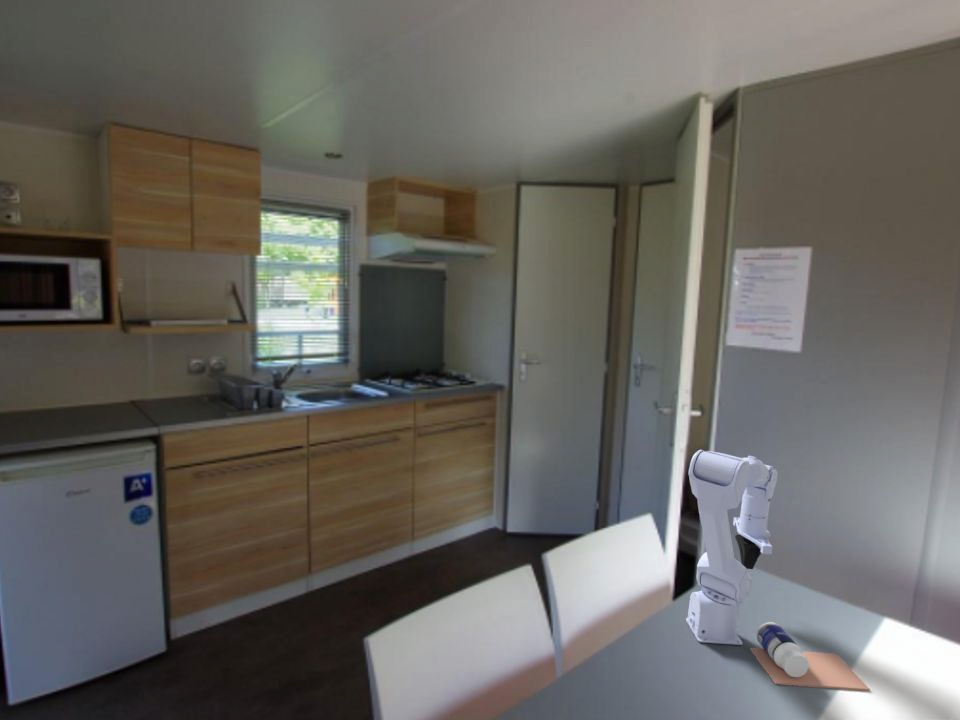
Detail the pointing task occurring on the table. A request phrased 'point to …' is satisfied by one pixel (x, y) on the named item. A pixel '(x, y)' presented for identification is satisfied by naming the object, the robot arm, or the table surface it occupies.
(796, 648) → the pill bottle
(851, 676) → the mat
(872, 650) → the table surface
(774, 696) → the table surface
